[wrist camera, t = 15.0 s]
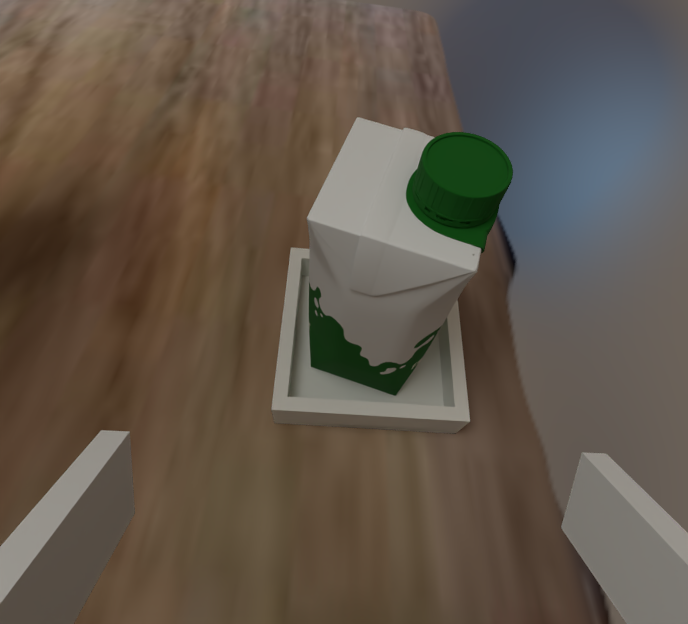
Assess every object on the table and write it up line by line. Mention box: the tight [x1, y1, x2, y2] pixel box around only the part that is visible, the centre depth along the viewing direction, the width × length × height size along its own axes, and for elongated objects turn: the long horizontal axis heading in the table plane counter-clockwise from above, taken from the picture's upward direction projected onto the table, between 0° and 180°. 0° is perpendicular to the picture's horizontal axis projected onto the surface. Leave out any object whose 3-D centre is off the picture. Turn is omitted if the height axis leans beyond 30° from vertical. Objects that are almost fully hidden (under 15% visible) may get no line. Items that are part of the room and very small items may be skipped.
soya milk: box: [307, 117, 513, 396], centre depth 28 cm, size 9×9×20 cm
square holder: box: [271, 248, 470, 434], centre depth 36 cm, size 14×14×4 cm
